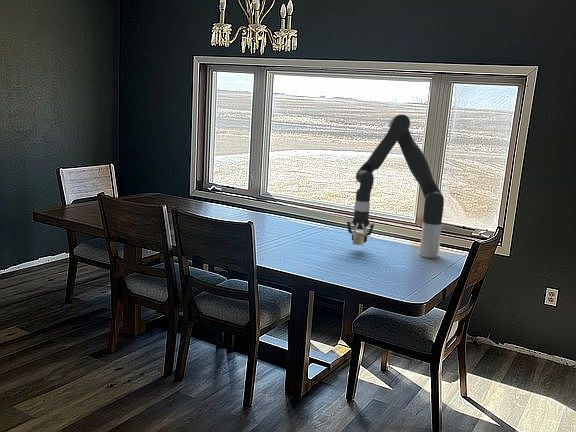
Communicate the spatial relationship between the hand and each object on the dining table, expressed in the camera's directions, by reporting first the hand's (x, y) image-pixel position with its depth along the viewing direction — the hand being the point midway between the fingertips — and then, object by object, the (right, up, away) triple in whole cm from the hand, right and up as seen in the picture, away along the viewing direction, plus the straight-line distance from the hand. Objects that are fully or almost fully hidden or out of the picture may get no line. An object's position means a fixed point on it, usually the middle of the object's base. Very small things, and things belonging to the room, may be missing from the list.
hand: (359, 241), depth 300 cm
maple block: (-1, +1, -6) cm, 7 cm away
